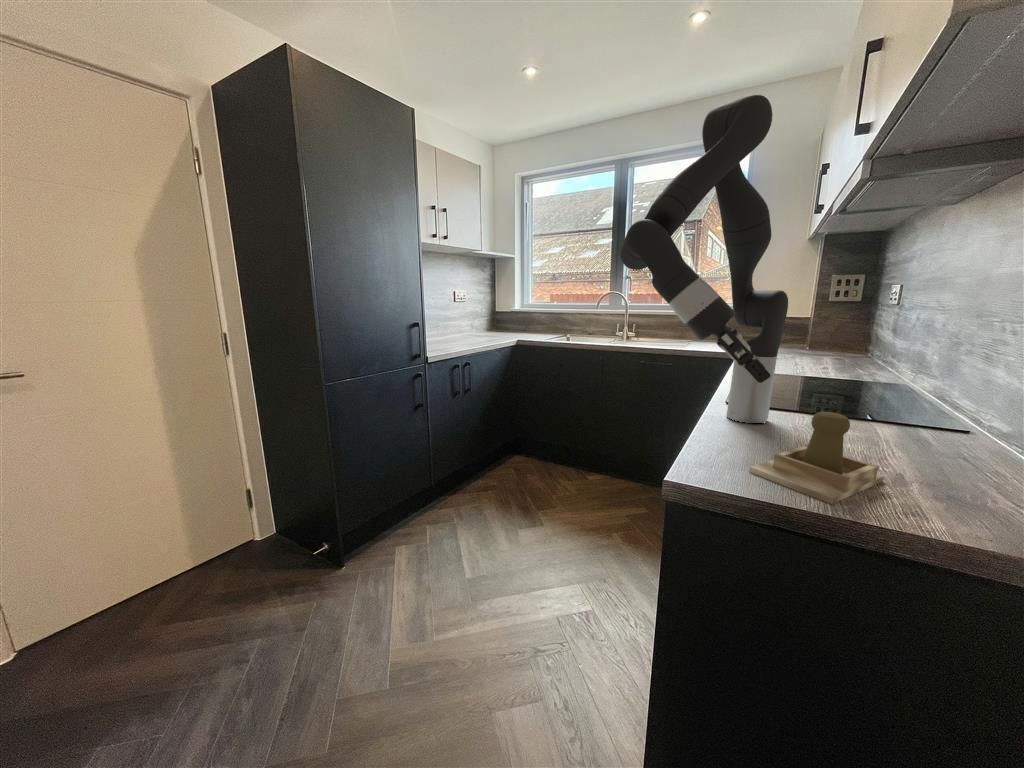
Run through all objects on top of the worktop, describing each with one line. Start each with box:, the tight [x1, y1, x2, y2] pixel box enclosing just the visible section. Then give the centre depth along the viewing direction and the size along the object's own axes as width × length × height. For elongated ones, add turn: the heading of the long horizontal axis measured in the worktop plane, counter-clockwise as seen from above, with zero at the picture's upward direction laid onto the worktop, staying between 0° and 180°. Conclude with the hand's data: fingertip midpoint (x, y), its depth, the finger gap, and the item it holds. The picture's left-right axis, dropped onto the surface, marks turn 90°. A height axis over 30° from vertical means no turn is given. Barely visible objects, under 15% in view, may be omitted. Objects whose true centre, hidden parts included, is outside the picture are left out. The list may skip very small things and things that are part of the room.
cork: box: [802, 411, 851, 475], centre depth 70 cm, size 6×6×11 cm
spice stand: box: [748, 444, 885, 505], centre depth 72 cm, size 18×13×4 cm
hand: (763, 375), depth 72 cm, fingers open, 8 cm apart
